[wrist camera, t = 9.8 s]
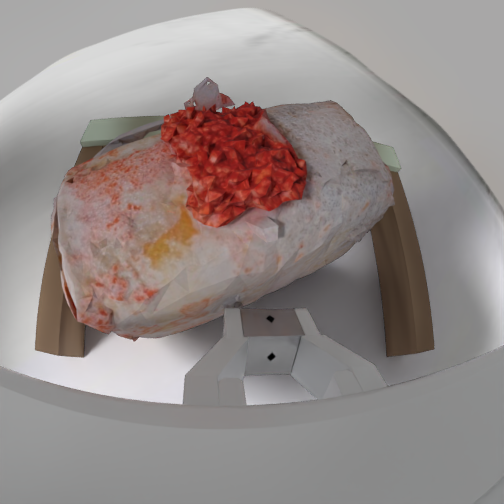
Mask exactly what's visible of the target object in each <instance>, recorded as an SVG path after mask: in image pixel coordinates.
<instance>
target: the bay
mask: <svg viewBox="0 0 504 504" xmlns="http://www.w3.org/2000/svg"><path fill="white" fill-rule="evenodd" d="M164 117H165V116H140V117H121V118H108V119H98V120H91V121H90V122H89V124H88V126H87V128H86V130H85V133H84V135H83V137H82V139H81V141H80V143H81V145H82V149H81V151H80V154H79V156H78V159H77V161H76V163H75V166H77V165H80V164H82V163H84V162H86V161H88V160H90V159H92V158H93V157H94V156H95V155H96V154H97V153H99V152H100V151H101V150H102V149H103V148H104V147H105V146H106V145H107V144H109V143H110V142H111V141H112V140H114V139H115V138H116V137H118V136H119V135H121V134H123V133H126V132H128V131H131V130H133V129H135V128H138V127H140V126H143V125H146V124H149V123H152V122H156V121H159V120H162V119H164ZM170 117H171V116H170ZM160 133H161V130H158V131H153V132H149V133H148V134H147V135H146V136H145V137H144V138H147V137H150V136H153V135H156V134H160ZM144 138H143V139H144ZM373 143H374V145H375V147H376V149H377V151H378V153H379V155H380V157H381V159H382V161H383V162H384V163H385V164H386V165H387V166H388V167H389V170H390V172H391V175H392V181H393V187H394V192H393V198H394V202H395V205H393V206H389V207H388V209H387V211H386V212H385V213H384V215H383V218H382V219H381V220H380V221H378V222H377V223H376V224H375V225H374V226H373V227H372V228H371V234H372V240H373V245H374V250H375V256H376V262H377V268H378V275H379V281H380V289H381V296H382V305H383V314H384V324H385V336H386V352H387V357H389V356H399V355H407V354H416V353H421V352H425V351H429V350H433V349H434V337H433V326H432V317H431V309H430V302H429V295H428V288H427V282H426V277H425V271H424V266H423V261H422V256H421V252H420V247H419V243H418V239H417V235H416V231H415V227H414V223H413V219H412V216H411V212H410V209H409V205H408V202H407V199H406V196H405V193H404V189H403V186H402V183H401V180H400V177H399V175H398V172H399V170H400V169H401V166H400V164H399V161H398V158H397V156H396V153H395V151H394V148H393V147H390V146H387V145H383V144H379V143H376V142H373ZM75 166H74V167H75ZM84 337H85V324H84V323H81V322H77V320H76V319H75V317H74V315H73V313H72V311H71V309H70V307H69V305H68V303H67V301H66V298H65V294H64V291H63V288H62V282H61V272H60V266H59V261H58V256H57V253H56V250H55V247H54V245H53V242H52V237H51V241H50V245H49V249H48V254H47V259H46V263H45V268H44V274H43V279H42V285H41V292H40V299H39V307H38V316H37V327H36V341H35V350H37V351H41V352H45V353H49V354H53V355H58V356H69V357H84Z"/></svg>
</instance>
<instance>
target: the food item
mask: <svg viewBox="0 0 504 504" xmlns="http://www.w3.org/2000/svg"><path fill="white" fill-rule="evenodd" d="M207 81H208V82H210V84H208V85H207ZM189 101H190V103H188V102H189ZM194 101H195V104H196V106H194V105H193V102H194ZM184 105H185V110H178V112H177V113H174V114H170V116H171V117H170V116H169V114H168V115H166V116H165V117H164V119H162V120H159V121H156V122H152V123H149V124H146V125H143V126H140V127H138V128H135V129H133V130H131V131H128V132H126V133H123V134H121V135H119V136H118V137H116V138H115V139H114V140H112V141H111V142H110V143H109V144H107V145H106V146H105V147H104V148H103V149H102V150H101V151H100V152H99V153H97V154H96V155H95V156H94V157H93V158H92V159H90V160H88V161H86V162H84V163H82V164H80V165H77V166H75V167H73V168H71V169H70V170H69V171H68V172H67V173H66V175H65V176H64V177H65V178H64V180H63V182H62V184H61V187H60V189H59V192H58V194H57V197H55V198H54V203H53V205H54V210H53V212H52V214H51V236H52V242H53V245H54V247H55V250H56V253H57V256H58V261H59V266H60V272H61V282H62V288H63V291H64V294H65V298H66V301H67V303H68V305H69V307H70V309H71V311H72V313H73V315H74V317H75V319H76V320H77V322H81V323H84V324H86V325H88V326H90V327H92V328H94V329H96V330H99V331H101V332H103V333H106V334H109V333H110V332H111V331H113V332H114V333H116V334H117V335H118V336H121V337H124V338H128V339H133V341H136V340H137V339H138V338H139V337H143V338H160V337H164V336H168V335H172V334H176V333H179V332H182V331H185V330H188V329H191V328H193V327H196V326H199V325H202V324H204V323H207V322H209V321H212V320H214V319H216V318H219V317H221V316H223V315H224V310H225V308H241V307H244V306H246V305H248V304H251V303H253V302H255V301H256V300H258V299H259V298H261V297H262V296H264V295H266V294H269V293H272V292H274V291H277V290H279V289H281V288H283V287H285V286H287V285H289V284H290V283H292V282H293V281H294V280H296V279H299V278H303V277H305V276H307V275H309V274H311V273H313V272H315V271H317V270H318V269H320V268H322V267H324V266H325V265H327V264H329V263H331V262H333V261H334V260H336V259H338V258H339V257H341V256H342V255H344V254H345V253H346V252H347V251H348V250H349V249H350V248H351V247H352V246H353V245H354V244H355V243H356V242H357V241H359V242H360V240H361V239H362V237H364V235H365V234H366V232H367V233H368V230H370V229H371V228H372V227H373V226H374V225H375V224H376V223H377V222H378V221H380V220H381V219H382V218H383V215H384V213H385V212H386V211H387V209H388V207H389V206H393V205H395V202H394V198H393V192H394V187H393V181H392V175H391V172H390V170H389V167H388V166H387V165H386V164H385V163H384V162H383V161H382V159H381V157H380V155H379V153H378V151H377V149H376V147H375V145H374V143H373V142H372V140H371V138H370V137H369V135H368V134H367V132H366V131H365V129H363V128H362V127H361V126H360V125H359V124H357V123H356V122H355V121H354V119H353V117H352V116H351V115H350V114H349V113H347V112H346V111H345V110H344V109H343V108H342V107H341V106H340V105H339V104H338V103H336V102H333V101H331V100H330V101H325V102H317V103H310V104H287V105H279V106H275V107H270V108H266V109H261V108H260V107H257V106H255V105H254V103H253V102H251V103H250V104H249V103H247V102H246V101H245V104H244V105H242V106H240V107H238V108H237V109H235V106H234V107H233V109H229V108H225V107H227V106H232V105H235V104H234V102H233V101H232V100H231V99H230V98H229V97H228V96H226V95H224V94H222V93H219V89H218V85H217V84H216V83H215V82H213V81H212V80H211V79H209V78H208V77H206V78H205V79H204V80H203V81H202V82H201V83H200V84H199V85H198V86H196V87H195V88H194V93H193V97H192V98H191V99H189V100H188V101H187V102H185V103H184ZM219 108H222V113H220V112H216V110H218V109H219ZM158 130H161V133H160V134H156V135H153V136H150V137H147V138H144V137H145V136H146V135H147V134H148V133H149V132H153V131H158ZM143 138H144V139H143Z"/></svg>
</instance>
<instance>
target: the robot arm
mask: <svg viewBox="0 0 504 504" xmlns="http://www.w3.org/2000/svg"><path fill="white" fill-rule="evenodd" d="M278 374H291V376H292V377H293V378H294V379H295V380H297V381H298V382H299V383H300V384H301V385H302V386H303V387H304V388H305V389H306V390H307V391H308V392H309V393H310V394H311V395H313V396H314V397H315V398H316V399H317V400H310V401H301V402H291V403H280V404H265V405H246V398H245V391H244V385H243V381H242V380H243V378H244V376H255V375H278ZM0 504H504V345H503V346H501V347H499V348H497V349H495V350H493V351H490V352H488V353H486V354H484V355H481V356H479V357H477V358H474V359H472V360H469V361H467V362H464V363H462V364H459V365H456V366H453V367H451V368H448V369H445V370H442V371H439V372H436V373H433V374H430V375H427V376H424V377H420V378H417V379H414V380H410V381H407V382H403V383H399V384H396V385H392V386H387V384H386V383H385V381H384V379H383V378H382V376H381V374H380V373H379V371H378V369H377V368H376V366H375V365H374V364H373V363H371V362H369V361H368V360H366V359H364V358H362V357H361V356H359V355H357V354H356V353H354V352H352V351H351V350H349V349H347V348H346V347H344V346H342V345H341V344H339V343H337V342H336V341H334V340H332V339H331V338H329V337H327V336H326V335H320V333H319V331H318V329H317V327H316V325H315V323H314V321H313V319H312V317H311V315H310V313H309V311H308V309H306V308H294V309H250V308H225V310H224V324H223V337H222V338H221V339H220V340H219V341H218V342H217V343H216V344H215V345H214V346H213V347H212V348H211V349H210V350H209V351H208V352H207V354H206V355H205V356H204V357H203V358H202V359H201V360H200V361H199V362H198V363H197V364H196V365H195V366H194V367H193V368H192V369H191V370H190V371H189V372H188V373H187V374H186V375H185V381H184V394H183V404H168V403H157V402H148V401H139V400H132V399H125V398H118V397H112V396H106V395H101V394H95V393H90V392H86V391H81V390H77V389H72V388H68V387H64V386H60V385H57V384H53V383H49V382H46V381H43V380H39V379H36V378H33V377H30V376H27V375H24V374H21V373H18V372H15V371H12V370H9V369H7V368H4V367H2V366H0Z"/></svg>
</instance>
